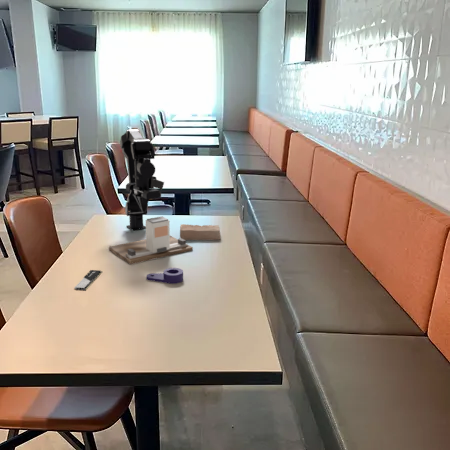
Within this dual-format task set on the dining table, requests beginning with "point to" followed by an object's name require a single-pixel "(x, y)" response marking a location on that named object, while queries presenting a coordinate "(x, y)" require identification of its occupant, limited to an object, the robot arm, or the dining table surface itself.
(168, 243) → the relay module
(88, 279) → the computer memory module
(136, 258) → the board
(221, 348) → the dining table surface
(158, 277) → the lever
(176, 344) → the dining table surface
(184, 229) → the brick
